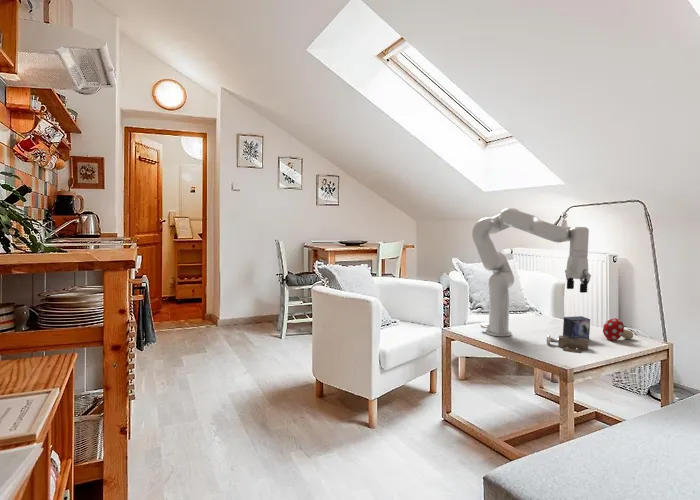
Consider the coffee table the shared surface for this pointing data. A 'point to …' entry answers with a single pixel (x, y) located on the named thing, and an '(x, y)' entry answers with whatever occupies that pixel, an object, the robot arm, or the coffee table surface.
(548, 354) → the coffee table surface
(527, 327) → the coffee table surface
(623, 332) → the decorative mushroom
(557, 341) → the hinge pin
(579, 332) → the small box
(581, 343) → the hinge
